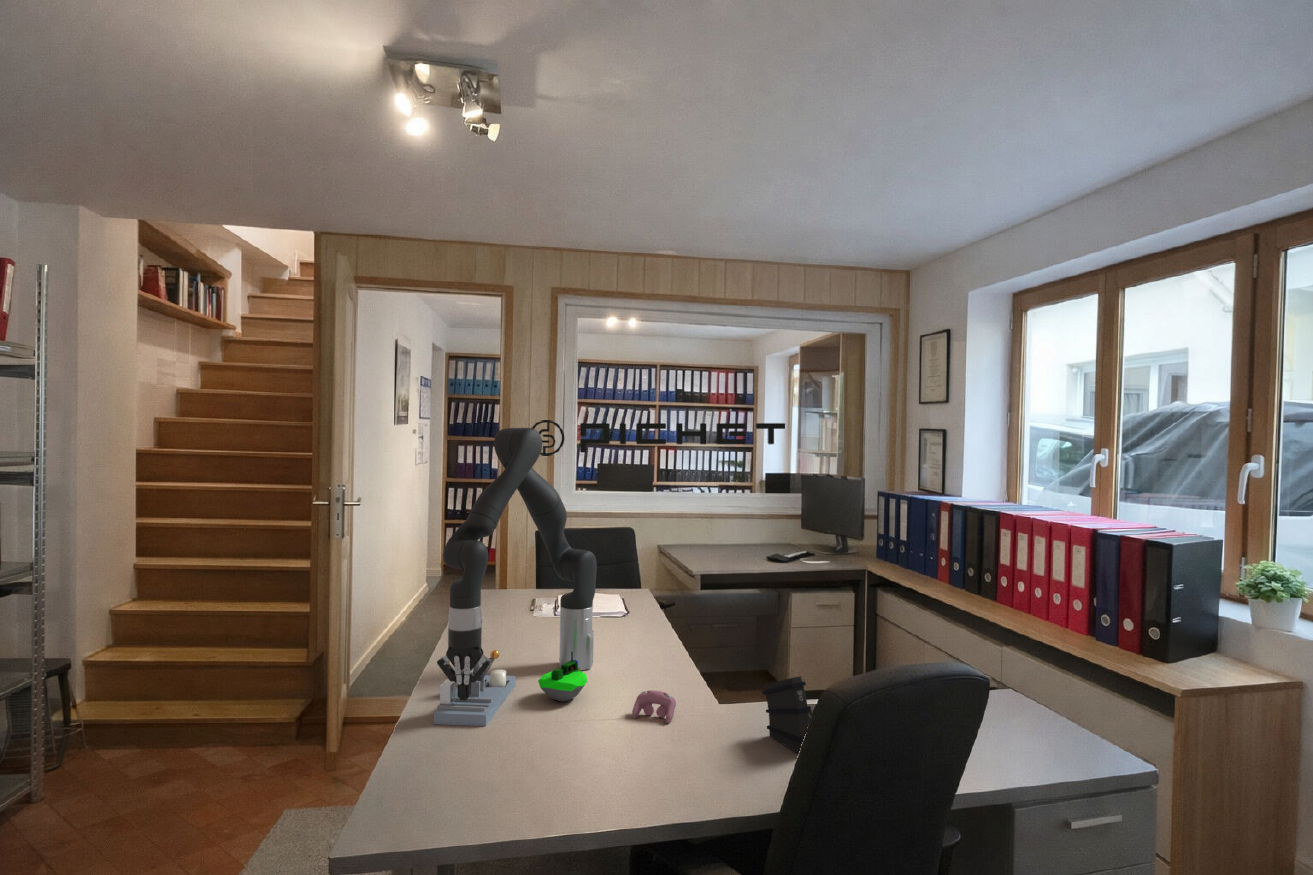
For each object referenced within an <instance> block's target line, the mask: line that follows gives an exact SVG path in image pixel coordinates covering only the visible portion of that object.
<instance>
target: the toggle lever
mask: <svg viewBox="0 0 1313 875" xmlns="http://www.w3.org/2000/svg"><path fill="white" fill-rule="evenodd" d="M499 657H500V651H499V650H497V649H493V650H492V651H491V652H490V657H489V658H491V659H492V663H491V664H490V665H489V666H488V668H487V669H486V670H485V671H484V673H483V674H482V675H481V676H480V677H479V679H478V680H477V681H480V685H481V684H482V682H483V678H484V677H485V675H487V673H488V672H489V670H490V669H491V666H492V665H493V663H494V662H495V660H497V659H498V658H499Z"/></svg>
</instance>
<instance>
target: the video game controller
mask: <svg viewBox="0 0 1313 875" xmlns="http://www.w3.org/2000/svg"><path fill="white" fill-rule="evenodd" d="M654 705H659V706H658V707H657V708H656V712H655V709H654ZM676 706H677V701H676V699H675V698H674V696H672V695H670V694H669V693H667V692H664V691H661V690H653V689H652V690H645V691H641V692H640V693H639V694H638V695H637V697H636V699H635V701H634V704H633V707H632V708H633V709H632V711H631V712H632V713H631V717H632V718H633V719H636V718H638V717H639V714H641V711H642V710H643V714H644V715H646V716H647V717H648V716H649V717H650V716H652V715H653V714H654V712H655V713H656V716H658V717H659V718H660V719H661V718H665V722H666V724H670V723H672V720H673V719H674V715H675V714H674V713H675V709H676Z"/></svg>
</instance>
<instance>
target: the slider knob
mask: <svg viewBox="0 0 1313 875" xmlns="http://www.w3.org/2000/svg"><path fill="white" fill-rule="evenodd" d="M439 689H440V690H439V693H440V694H439V705H449V706H452V705H453V703H454V702H455V701H456V689H457V683H456V682H454V681H453V682H451V681H450V680H449V679H448V678H446V679H444V681H443V682H442V683H441V684H440V685H439Z"/></svg>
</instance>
